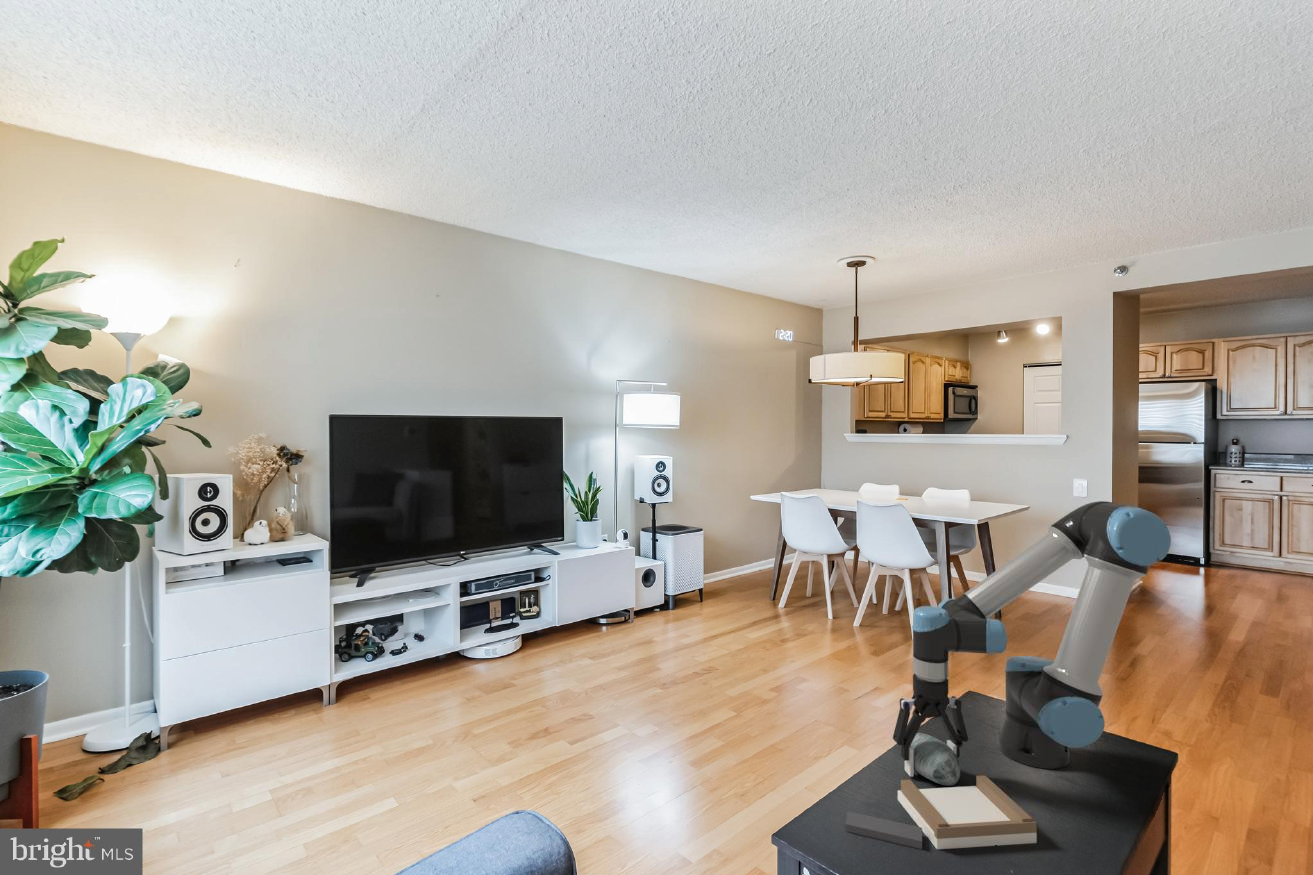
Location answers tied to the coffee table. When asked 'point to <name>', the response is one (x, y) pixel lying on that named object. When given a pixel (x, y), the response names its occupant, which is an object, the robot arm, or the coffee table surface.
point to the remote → (884, 830)
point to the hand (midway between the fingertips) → (930, 772)
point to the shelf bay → (968, 815)
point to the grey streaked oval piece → (935, 760)
